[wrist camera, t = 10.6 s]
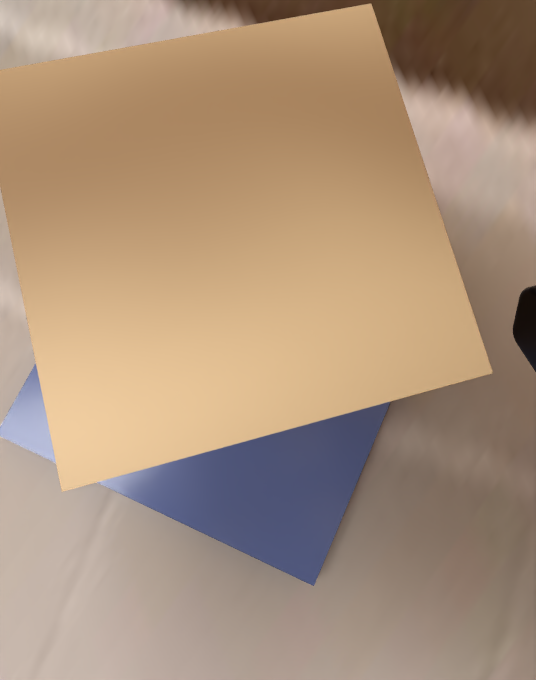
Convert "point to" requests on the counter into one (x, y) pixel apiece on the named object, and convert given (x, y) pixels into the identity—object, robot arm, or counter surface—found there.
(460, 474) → the counter surface
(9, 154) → the oak block
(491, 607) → the counter surface
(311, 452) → the blue tile
